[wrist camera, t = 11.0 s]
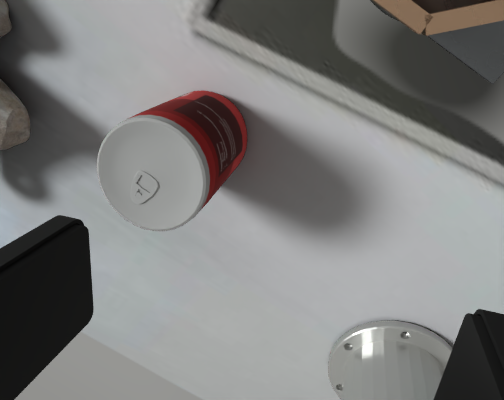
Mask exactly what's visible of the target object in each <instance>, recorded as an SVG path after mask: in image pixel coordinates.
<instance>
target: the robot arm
mask: <svg viewBox="0 0 504 400" xmlns="http://www.w3.org/2000/svg"><path fill="white" fill-rule="evenodd" d="M92 315H93V294H92V279H91V263H90V247H89V232H88V229H87V227H85V226H84V224H83V222H82V221H81V220H80V219H75V218H71V217H66V216H61V215H58V216H56V217H54V218H52V219H50V220H49V221H47V222H45V223H44V224H42V225H40V226H38V227H37V228H35V229H33V230H31V231H30V232H28V233H26V234H25V235H23V236H21V237H19V238H18V239H16V240H14V241H12V242H11V243H9V244H7V245H6V246H4V247H2V248H0V400H14V399H15V398H16V397H17V396H18V395H19V394H20V393H21V392H22V391H23V390H24V389H25V388H26V387H27V386H28V385H29V384H30V382H32V381H33V380H34V379H35V377H36V376H37V375H38V374H39V373H40V372H41V371H42V370H43V369H44V368H45V367H46V366H47V365H48V364H49V363H50V362H51V361H52V360H53V359H54V358H55V357H56V356H57V355H58V354H59V353H60V352H61V351H62V350H63V349H64V347H66V345H67V344H68V343H69V342H70V341H71V340H72V339H73V338H74V337H75V336H76V335H77V334H78V333H79V332H80V331H81V330H82V329H83V328H84V327H85V326H86V325H87V324H88V323H89V321H90V320H91V318H92ZM328 374H329V379H330V383H331V385H332V387H333V389H334V391H335V392H336V394H337V395H338V396H339V398H340V399H341V400H504V314H500V313H495V312H491V311H486V310H482V309H478V310H477V311H476V312H475V313H474V314H469V313H468V314H466V316H465V317H464V320H463V322H462V325H461V328H460V330H459V333H458V336H457V338H456V341H455V344H454V346H453V348H452V347H451V346H450V345H449V344H448V343H447V342H446V341H445V340H444V339H442V338H441V337H440V336H438V335H437V334H435V333H434V332H432V331H430V330H428V329H426V328H424V327H421V326H418V325H415V324H411V323H407V322H401V321H376V322H370V323H366V324H363V325H360V326H357V327H355V328H353V329H351V330H349V331H348V332H347V333H345V334H344V335H343V336H342V337H340V338H339V340H338V341H337V342H336V343H335V345H334V346H333V349H332V351H331V353H330V358H329V366H328Z"/></svg>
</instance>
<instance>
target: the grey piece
mask: <svg viewBox="0 0 504 400" xmlns="http://www.w3.org/2000/svg"><path fill="white" fill-rule="evenodd" d="M8 14H9V7H8V4H7V3H6V1H5V0H0V37H2V36H4V35H6V34H7V33H8V32H10V30H11V27H12V24H11V22H10V19H9V16H8ZM29 136H30V118H29V115H28V112H27V110H26V108H25V107H24V105H23V104H22V102H21V101H20V100H19V98H18V97H17V96H16V95H15V94H14V93H13V92H12V91H11V90H10V88H9V87H8V86H7V85H6V84H5V83H4V82H3V81H2V80H1V79H0V150H5V149H9V148H11V147H13V146H16V145H19V144H21V143H24V142H26V141H27V140H28V139H29Z"/></svg>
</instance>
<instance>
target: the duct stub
mask: <svg viewBox="0 0 504 400" xmlns="http://www.w3.org/2000/svg"><path fill="white" fill-rule="evenodd" d="M370 1H371V2H372V3H373V4H374V5H375V6H376V7H377V8H378V9H380V10H381V11H382V12H383V13H385V14H386V15H388V16H389V17H391V18H393V19H395V20H397V21H400V22H401V23H403V24H404V25H405V26H407V27H408V28H410V29H411V30H412V31H414V32H415V33H417V34H423V35H426V36H428V37H429V38H430V39H432V40H433V41H434V42H436V43H437V44H438V45H440V46H441V47H442V48H444V49H446V51H448V52H449V53H451V54H452V55H453V56H455V57H456V58H457V59H459V60H460V61H461V62H463V63H464V64H465V65H467V66H468V67H469V68H471V69H472V70H473V71H475V72H476V73H477V74H479V75H480V76H481V77H483V78H484V79H485V80H487V81H488V82H490V83H492V84H493V83H494V82H495V81H496V80H497V79H498V78H499V77H500V76H501V75H502V74H503V73H504V0H370Z"/></svg>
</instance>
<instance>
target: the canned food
mask: <svg viewBox="0 0 504 400" xmlns="http://www.w3.org/2000/svg"><path fill="white" fill-rule="evenodd" d="M246 146H247V129H246V125H245V121H244V119H243V117H242V115H241V113H240V112H239V110H238V109H237V107H236V106H235V105H234V104H233V103H232V102H231V101H230V100H228V99H226V98H225V97H223V96H221V95H219V94H216V93H214V92H209V91H194V92H190V93H187V94H184V95H182V96H180V97H177V98H175V99H172V100H170V101H168V102H165V103H163V104H160V105H158V106H156V107H153V108H151V109H149V110H146V111H144V112H141V113H139V114H137V115H135V116H133V117H130V118H128V119H126V120H125V121H123V122H121V123H120V124H118V125H117V126H115V127H114V128H113V129H112V130H111V131H110V132H109V133H108V134H107V135H106V137H105V139H104V140H103V142H102V144H101V146H100V149H99V152H98V158H97V175H98V179H99V184H100V186H101V189H102V191H103V194H104V196H105V197H106V199H107V201H108V202H109V204H110V205H111V206H112V207H113V209H114V210H115V211H116V212H117V213H118V214H119V215H120V216H122V217H123V218H124V219H125V220H127V221H128V222H130V223H132V224H133V225H135V226H138V227H140V228H143V229H147V230H152V231H168V230H173V229H176V228H178V227H181V226H183V225H184V224H186V223H187V222H189V221H190V220H191V219H192V218H194V217H195V216H196V215H197V214H198V212H199V211H200V210H201V209H202V208H203V207H204V206H205V205H206V204H207V202H208V201H209V200H210V199H211V198H212V196H213V195H214V194H215V193H216V192H217V190H218V189H219V188H220V187H221V186H222V184H223V183H224V182H225V181H226V179H227V178H228V177H229V176H230V175H231V173H232V172H233V171H234V170H235V169H236V167H237V166H238V165H239V164H240V162H241V160H242V158H243V157H244V154H245V151H246Z"/></svg>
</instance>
